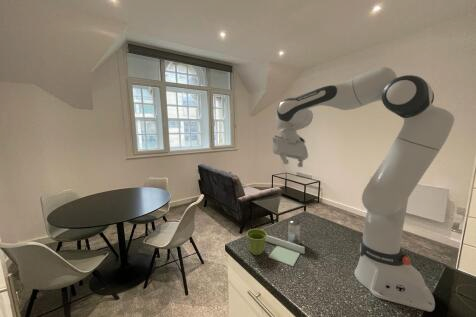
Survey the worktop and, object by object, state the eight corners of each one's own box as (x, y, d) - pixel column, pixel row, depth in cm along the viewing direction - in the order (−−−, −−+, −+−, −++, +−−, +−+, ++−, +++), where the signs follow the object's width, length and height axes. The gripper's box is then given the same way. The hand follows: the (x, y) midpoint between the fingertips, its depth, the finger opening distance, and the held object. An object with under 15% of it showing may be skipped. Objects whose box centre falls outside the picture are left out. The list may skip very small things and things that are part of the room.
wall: (304, 253, 89) (304, 247, 89) (303, 254, 89) (304, 247, 88) (264, 239, 100) (264, 234, 100) (264, 240, 100) (264, 235, 99)
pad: (299, 254, 89) (300, 253, 89) (292, 266, 80) (293, 265, 80) (277, 246, 95) (277, 245, 95) (268, 257, 86) (268, 256, 86)
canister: (300, 241, 99) (301, 220, 98) (297, 246, 94) (298, 225, 93) (289, 237, 102) (290, 218, 101) (285, 243, 97) (286, 222, 96)
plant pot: (266, 246, 95) (266, 229, 94) (267, 258, 86) (267, 240, 84) (247, 244, 96) (247, 228, 95) (245, 257, 87) (246, 238, 85)
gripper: (276, 131, 88) (281, 159, 82) (307, 140, 98) (313, 166, 93) (268, 137, 93) (272, 164, 87) (297, 146, 103) (303, 170, 98)
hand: (293, 165), depth 90 cm, fingers open, 8 cm apart
